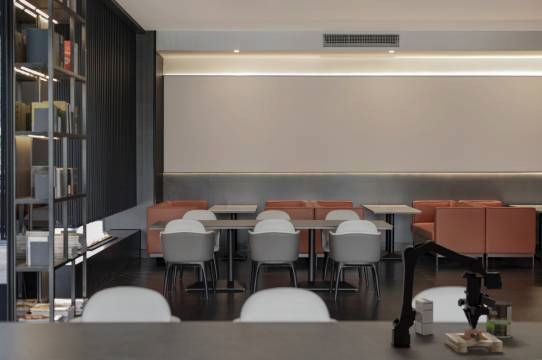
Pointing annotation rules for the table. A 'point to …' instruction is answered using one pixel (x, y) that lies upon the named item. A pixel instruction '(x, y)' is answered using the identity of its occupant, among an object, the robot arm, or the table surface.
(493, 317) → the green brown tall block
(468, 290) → the robot arm
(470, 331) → the tee shaped peg
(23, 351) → the table surface
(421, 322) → the syrup box
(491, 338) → the frame with crossbar
